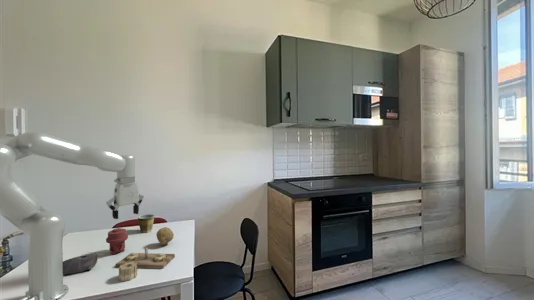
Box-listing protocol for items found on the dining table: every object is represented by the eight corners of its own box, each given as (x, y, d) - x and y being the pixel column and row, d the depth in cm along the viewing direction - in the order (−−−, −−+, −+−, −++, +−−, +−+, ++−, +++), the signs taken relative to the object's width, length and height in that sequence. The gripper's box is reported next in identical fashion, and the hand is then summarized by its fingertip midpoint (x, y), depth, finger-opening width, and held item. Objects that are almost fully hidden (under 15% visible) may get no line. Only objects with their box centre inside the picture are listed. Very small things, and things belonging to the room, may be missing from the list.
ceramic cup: (157, 230, 164) (157, 215, 164) (143, 234, 155) (143, 219, 155) (146, 227, 170) (146, 213, 170) (132, 231, 162) (132, 216, 162)
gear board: (163, 268, 111) (163, 253, 111) (115, 267, 113) (115, 252, 113) (174, 256, 123) (174, 243, 123) (131, 255, 125) (131, 242, 125)
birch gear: (130, 281, 101) (130, 269, 101) (115, 281, 101) (115, 269, 101) (140, 273, 107) (140, 262, 107) (125, 272, 108) (125, 261, 108)
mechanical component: (132, 248, 134) (117, 257, 124) (116, 247, 136) (101, 255, 126) (132, 226, 133) (117, 233, 124) (116, 225, 135) (101, 231, 126)
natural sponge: (171, 240, 145) (171, 224, 145) (175, 245, 138) (175, 228, 138) (155, 243, 141) (155, 226, 140) (157, 249, 133) (157, 231, 133)
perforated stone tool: (53, 278, 103) (53, 262, 103) (58, 273, 108) (58, 257, 108) (95, 271, 110) (95, 256, 110) (98, 266, 114) (98, 251, 114)
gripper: (111, 183, 107) (111, 221, 107) (147, 179, 122) (147, 213, 122) (102, 182, 111) (102, 219, 111) (138, 178, 126) (138, 211, 126)
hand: (126, 216), depth 116 cm, fingers open, 9 cm apart
